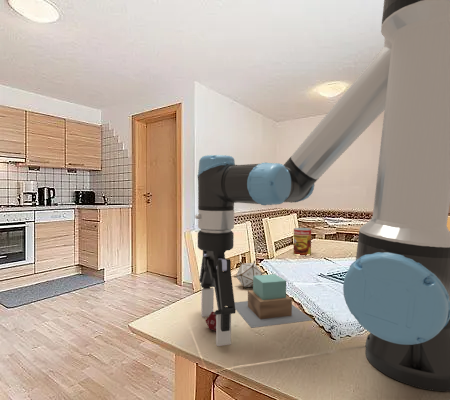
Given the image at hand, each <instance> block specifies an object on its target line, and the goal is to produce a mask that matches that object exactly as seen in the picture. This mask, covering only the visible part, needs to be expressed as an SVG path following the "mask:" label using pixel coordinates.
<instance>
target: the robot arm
mask: <svg viewBox="0 0 450 400" xmlns="http://www.w3.org/2000/svg"><path fill="white" fill-rule="evenodd" d="M380 29H381V30H380V32H381V35H382V36H383V37H384V44H383V47H382V49H380V51H378V53H377V54H376V56H375V57H374V58H373V59H372V61H371V62H370V63H369V64H368V65H367V66H366V68H365V69H364V70H362V72H361V73H360V74H359V76H358V77H357V78H356V79H355V80H354V82H353V83H352V84H351V85H350V86H349V88H348V89H346V91H345V92H344V93H343V94H342V96H341V97H340V98H339V99H338V100H337V101H336V103H335V104H334V105H333V106H332V107H331V108H330V110H329V111H328V112H327V113H326V115H325V116H324V117H322V119H321V120H320V122H318V124H317V125H316V126H315V128H314V129H313V130H312V131H311V132H310V134H309V135H308V136H307V137H306V138H305V139H304V140H303V142H302V143H301V144H300V145H299V147H297V148H296V150H295V151H294V152H293V154H292V155H291V156H290V157H289V158H288V159H287V160H286V161H285V163H283V164H282V163H279V162H278V163H277V162H276V163H275V162H274V163H273V162H261V163H250V164H235V158H234V157H233V156H230V155H227V154H226V155H223V154H215V155H213V154H211V155H210V154H209V155H208V154H207V155H203V156H202V157H200V159H199V161H198V172H197V173H198V174H197V185H198V186H197V193H198V194H197V195H198V196H197V201H198V202H197V204H198V206H197V210H198V211H197V212H198V214H197V213H196V214H195V215H194V216H195V219H196V220H197V228H198V230H199V229H200V230H199V231H198V232H197V248H198V249H199V250H201V251H202V260H201V267H200V275H199V283H200V287H201V308H200V309H201V312H200V313H201V315H200V316H201V317H202V318H205V317H206V318H208V316H209V315H210V314H211V312H215V315H216V331H215V334H216V335H215V346H216V347H221V346H223V347H224V346H229V345H231V344H232V315H234V314H236V312H237V310H236V309H235V302H236V301H235V296H234V295H235V294H234V287H233V278H232V269H231V265H232V264H231V263H232V261H231V259H230V258H229V259H227V258H226V254H225V253H226V251H231V250H233V248H234V236H235V235H234V232H233V231H232V230H233V229H234V228H235V204H251V205H252V204H255V205H261V206H272V205H281V204H283V203H298V202H301V201H302V202H303V201H304V200H307V199H308V198H310V197H311V195H312V194H313V192H314V189H315V183H316V182H317V181H318V180H319V179H320V178H321V177H322V176H323V175H324V174H326V172H327V171H328V170H329V168H331V166H333V164H335V163H336V161H337V160H338V159H339V158H341V156H342V155H343V154H344V153H346V151H347V150H348V149H349V148H350V147H351V146H352V145H353V144H354V142H355V141H357V139H359V137H360V136H361V135H362V134H363V133H364V132H365V131H366V130H367V129H368V128H369V127H370V126H371V125H372V124H373V123H374V122H375V121H376V119H377V118H378V117H380V115H381V114H382V113H383V119H382V120H383V122H382V129H381V139H380V140H381V141H380V146H379V148H380V149H379V155H378V157H379V158H378V166H377V174H376V184H375V191H374V202H373V209H372V217H371V218H370V220H369V221H367V222H366V223H365V224H363V225H361V226H360V227H359V230H358V240H357V245H356V256H355V261H353V262H352V263H351V264H350V265H349V268H348V270H347V271H346V274H345V276H344V279H343V283H342V284H343V287H342V290H343V292H342V293H343V298H344V301H345V303H346V305H347V306H346V307H347V308H348V310H349V312H350V314H351V315H352V316H353V317H354V318H355V319H356V320H355V321H357V322H358V323H359V325H360V326H361V327H362V328H363V329H364V330H366V331H367V332H369V334H368V335H367V337H366V340H365V356H366V358H367V360H368V362H369V363H370V364H371V365H372V366H373V368H375V369H376V370H379V372H381V373H383V374H384V375H386V376H388V377H390V378H391V379H393V380H396V381H397V382H400V383H403V384H406V385H408V386H412V387H415V388H419V389H424V390H427V391H428V390H429V391H434V392H435V391H438V392H450V230H449V228H448V218H449V212H450V0H384V1H383V10H382V19H381V28H380ZM214 293H215V299H216V305H217V309H216V310H215V311H214Z"/></svg>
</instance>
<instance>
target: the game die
mask: <svg viewBox="0 0 450 400" xmlns="http://www.w3.org/2000/svg"><path fill="white" fill-rule="evenodd" d="M239 264H240V266H239V268H238V270H237V273H236V275H234V276H233V278H236V279H237V280H238V281H239V283H240V284H241V286H242V289H243V290H244V289H246V288H251V287H252V288H253V276H257V275H266V272H265V271H264V272H262V270H261V269H260V268H259V266H258V265H257V264H256V260H254V261H253V262H247V263H246V262H245V263H244V262H243V263H242V262H241V261H239Z"/></svg>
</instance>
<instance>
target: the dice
mask: <svg viewBox="0 0 450 400" xmlns="http://www.w3.org/2000/svg"><path fill="white" fill-rule="evenodd" d="M204 321H205V323H206V325H207V327H208V329H209V330H210V331H215V332H216V315H215V311H213V312H211V314H210V315H209V316H208V317H206V319H205V320H204Z"/></svg>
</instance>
